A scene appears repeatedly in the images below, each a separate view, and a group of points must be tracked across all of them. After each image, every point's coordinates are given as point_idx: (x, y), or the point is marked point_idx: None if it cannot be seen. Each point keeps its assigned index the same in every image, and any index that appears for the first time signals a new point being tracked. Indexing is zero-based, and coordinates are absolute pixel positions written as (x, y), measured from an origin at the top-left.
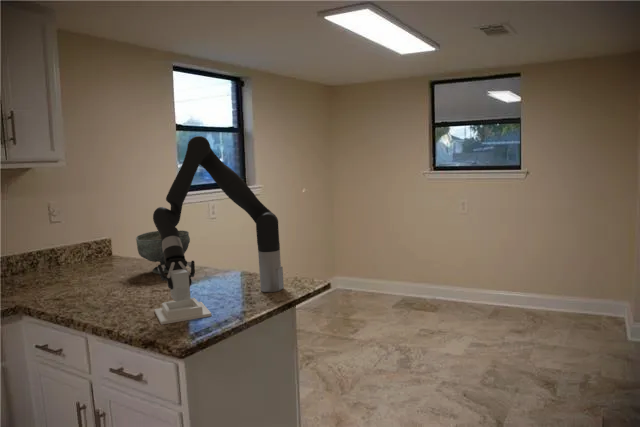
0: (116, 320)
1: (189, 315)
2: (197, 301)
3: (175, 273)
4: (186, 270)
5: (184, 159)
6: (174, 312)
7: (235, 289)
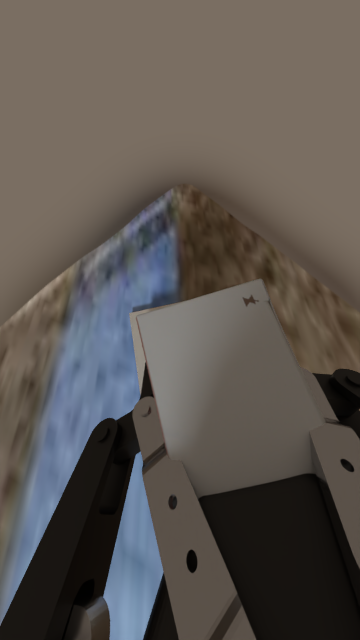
0: (356, 362)
1: None
2: None
3: (249, 299)
4: (154, 456)
5: None
6: None
7: None
